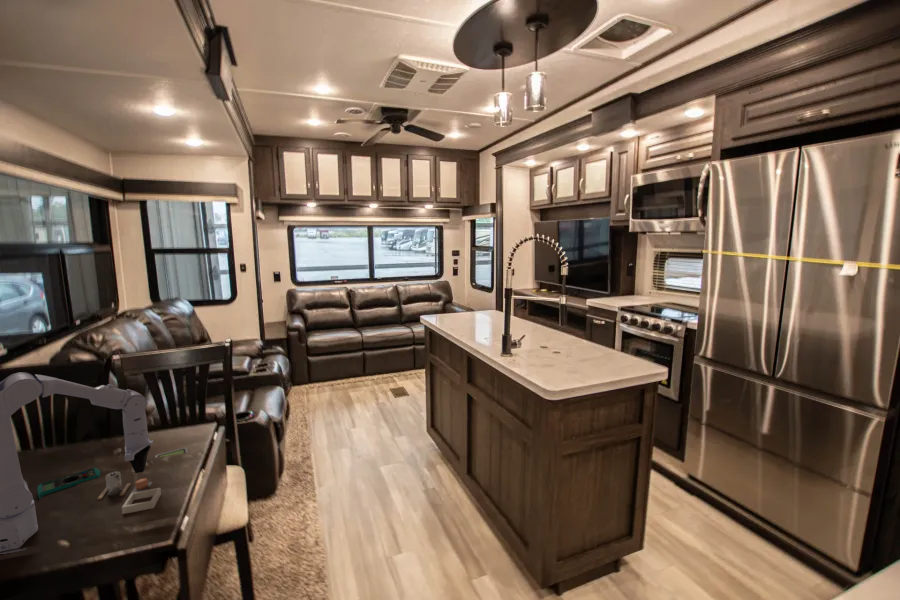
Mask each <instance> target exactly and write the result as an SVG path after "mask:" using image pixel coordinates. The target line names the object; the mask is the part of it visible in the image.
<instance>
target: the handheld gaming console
mask: <svg viewBox="0 0 900 600" xmlns="http://www.w3.org/2000/svg"><path fill="white" fill-rule="evenodd" d="M188 453H189V449H188V447H181V448H178V449H174V450H170V451H166V452H162V453H157V454H155V456H154V458H155V459H156V458H161V457H168V456H174V455H181V454H188Z"/></svg>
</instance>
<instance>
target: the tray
mask: <svg viewBox="0 0 900 600" xmlns="http://www.w3.org/2000/svg"><path fill="white" fill-rule="evenodd" d="M161 496H162V488H161V487H156V488H149V489H148V490H143V491H137V492H132V493H130V494H129V496H128V497H127V499H126V500H125V502H124V504H122V506H121V513H122V515H125V514H129V513H135V512H140V511H145V510H151V509H154V508H155V506H156V505H157V502H158V501H159V499H160V497H161ZM146 498H151V499H150V500H148V501H143V502H136V503H134V501H136V500H141V499H146Z"/></svg>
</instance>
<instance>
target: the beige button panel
mask: <svg viewBox="0 0 900 600" xmlns="http://www.w3.org/2000/svg"><path fill="white" fill-rule="evenodd" d="M152 484H153V481H150V482H148V486H147V487H146V488H144V489H141V490H137V489H136V485H135V486H134V487H133V489H132V490H131V491H130V492H131V493H133V492H139V491H144V490H150V487H151V485H152ZM131 485H132V483H131V482H129V483H126V484H125V485H124V487H123V488H122V491H121V492H120V493H119V496H120V497H122V496H125V494H126V493H127V491H128V490H129V489H130V486H131ZM131 493H130V494H131ZM106 494H107V487H106V486H105V488H104V489H103V490H102V492H101V493H100V494H99V496H98V497H97V500H98V501H100V500H103V499H104V497H105V496H106Z"/></svg>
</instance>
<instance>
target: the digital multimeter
mask: <svg viewBox="0 0 900 600" xmlns="http://www.w3.org/2000/svg"><path fill="white" fill-rule="evenodd" d="M100 476H101V470H100V469H98V468H97V467H92V468H89V469H86V470H83V471H80V472H77V473H73V474H70V475H67V476H64V477H60V478H57V479H54V480H50V481H46V482H42V483H40V484H39V485H37V489H36V490H37V497H38V499H39V500H41V499H42V498H43V496H48V495H50V494H52V493H55V492H59V491H62V490H65V489H67V488H71V487H73V486H74V487H75V486H77V485H79V484H80V483H85V482H87V481H90V480H91V481H92V480H95V479H97V478H99V477H100Z"/></svg>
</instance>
